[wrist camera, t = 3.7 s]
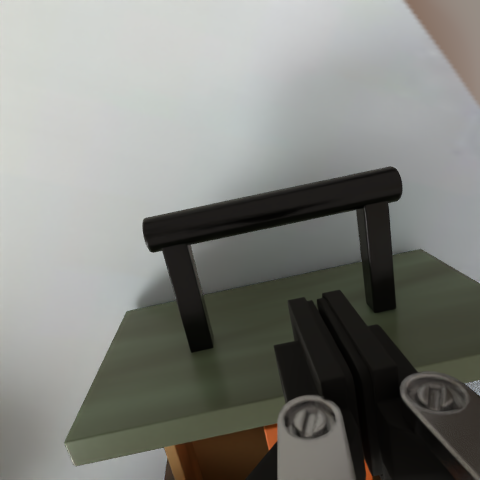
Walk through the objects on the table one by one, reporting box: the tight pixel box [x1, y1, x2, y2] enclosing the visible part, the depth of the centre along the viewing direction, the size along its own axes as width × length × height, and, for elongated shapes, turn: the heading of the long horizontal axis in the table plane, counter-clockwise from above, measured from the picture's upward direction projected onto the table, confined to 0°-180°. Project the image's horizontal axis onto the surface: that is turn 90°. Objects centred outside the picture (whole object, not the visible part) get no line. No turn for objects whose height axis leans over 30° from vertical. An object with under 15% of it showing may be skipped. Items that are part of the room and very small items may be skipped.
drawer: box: [64, 167, 480, 480], centre depth 18 cm, size 22×17×9 cm
